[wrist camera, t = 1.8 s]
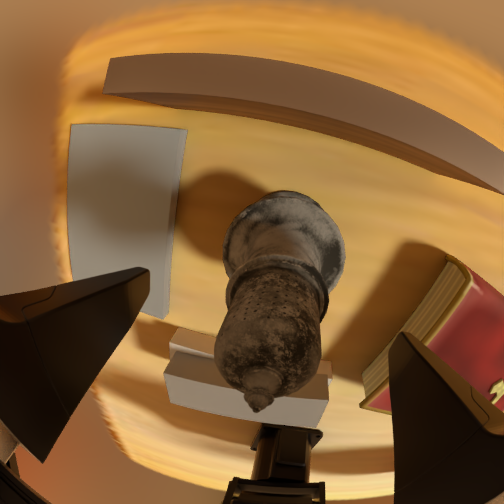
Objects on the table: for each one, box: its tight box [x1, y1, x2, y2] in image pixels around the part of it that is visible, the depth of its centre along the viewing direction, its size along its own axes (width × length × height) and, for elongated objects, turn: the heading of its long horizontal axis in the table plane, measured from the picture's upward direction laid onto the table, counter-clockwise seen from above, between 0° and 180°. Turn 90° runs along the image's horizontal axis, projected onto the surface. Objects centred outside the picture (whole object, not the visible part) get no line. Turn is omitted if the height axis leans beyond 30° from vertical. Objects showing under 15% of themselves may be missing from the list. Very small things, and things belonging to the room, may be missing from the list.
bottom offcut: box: [169, 327, 333, 386], centre depth 20 cm, size 4×12×2 cm, turn 81°
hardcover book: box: [359, 254, 504, 415], centre depth 15 cm, size 12×21×4 cm, turn 67°
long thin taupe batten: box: [102, 53, 504, 195], centre depth 10 cm, size 2×16×7 cm, turn 79°
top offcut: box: [163, 351, 329, 428], centre depth 18 cm, size 4×11×2 cm, turn 86°
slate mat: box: [67, 124, 188, 319], centre depth 17 cm, size 13×9×1 cm
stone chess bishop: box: [214, 191, 346, 413], centre depth 11 cm, size 6×6×12 cm
